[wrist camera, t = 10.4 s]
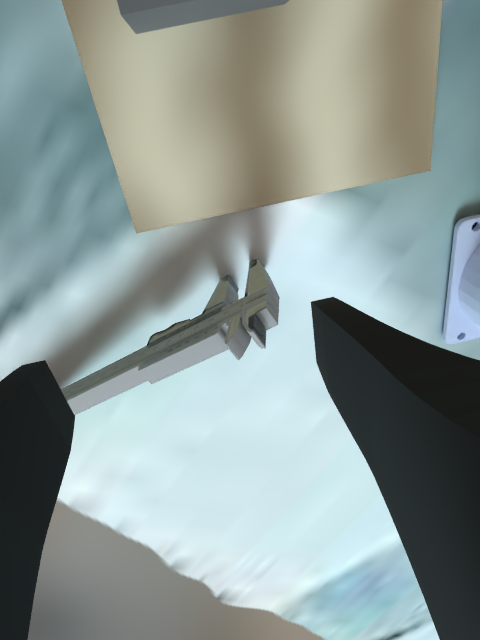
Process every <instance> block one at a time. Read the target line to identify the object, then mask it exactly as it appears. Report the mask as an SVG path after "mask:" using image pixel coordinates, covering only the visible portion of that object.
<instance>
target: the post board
mask: <svg viewBox="0 0 480 640" xmlns="http://www.w3.org/2000/svg"><path fill="white" fill-rule="evenodd" d="M442 1H443V0H289V1H288V2H287V3H285V4H284V5H279V6H274V7H269V8H264V9H259V10H254V11H249V12H244V13H239V14H234V15H229V16H224V17H219V18H214V19H209V20H204V21H199V22H194V23H189V24H184V25H179V26H174V27H170V28H165V29H160V30H155V31H150V32H145V33H140V34H135V32H134V31H133V30H132V29H131V27H130V26H129V25H128V24H127V22H126V21H125V20H124V18H123V17H122V16H121V14H120V10H119V7H118V3H117V0H62V3H63V6H64V10H65V13H66V16H67V19H68V22H69V25H70V28H71V31H72V34H73V38H74V41H75V44H76V47H77V50H78V53H79V56H80V59H81V62H82V66H83V69H84V72H85V75H86V78H87V81H88V84H89V87H90V91H91V94H92V97H93V100H94V103H95V106H96V109H97V112H98V115H99V119H100V122H101V125H102V128H103V131H104V134H105V137H106V140H107V143H108V147H109V150H110V153H111V156H112V159H113V162H114V165H115V168H116V172H117V175H118V178H119V181H120V184H121V187H122V190H123V193H124V196H125V200H126V203H127V206H128V209H129V212H130V215H131V218H132V221H133V224H134V228H135V231H136V233H140V232H145V231H150V230H154V229H159V228H164V227H168V226H173V225H178V224H183V223H187V222H192V221H197V220H201V219H206V218H211V217H215V216H220V215H225V214H229V213H234V212H239V211H244V210H248V209H253V208H258V207H262V206H267V205H272V204H276V203H281V202H286V201H290V200H295V199H300V198H305V197H309V196H314V195H319V194H323V193H328V192H333V191H337V190H342V189H347V188H351V187H356V186H361V185H366V184H370V183H375V182H380V181H384V180H389V179H394V178H398V177H403V176H408V175H412V174H417V173H422V172H427V171H430V170H431V156H432V141H433V127H434V113H435V99H436V85H437V71H438V57H439V43H440V29H441V15H442Z"/></svg>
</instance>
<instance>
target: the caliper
mask: <svg viewBox="0 0 480 640" xmlns="http://www.w3.org/2000/svg"><path fill="white" fill-rule="evenodd" d="M237 293H238V287H237V286H236V285H235V283H234V282H233V281H232V279H231V278H230V276H229V275H228V276H226V277H224V278H223V279H221V280H220V281H219V283H218V285H217V287H216V289H215V291H214V293H213V294H212V296H211V298H210V300H209V302H208V304H207V306H206V307H205V309H204V311H203V313H202V314H201V315H199V316H197V317H195V318H194V319H192V320H190V319H188V320H184V321H181V322H178V323H175V324H173V325H172V326H170V327H169V328H167V329H166V330H163V331H160V332H157V333H155V334H153V335H152V336H151V337H150V339H149V341H148V344H147V346H146V347H144V348H142V349H140V350H138V351H136V352H134V353H132V354H130V355H128V356H126V357H124V358H122V359H120V360H118V361H116V362H114V363H112V364H110V365H108V366H106V367H104V368H102V369H100V370H99V371H97V372H95V373H93V374H91V375H89V376H87V377H85V378H83V379H81V380H79V381H77V382H75V383H73V384H71V385H69V386H67V387H65V388H63V389H61V391H62V393H63V395H64V397H65V398H66V400H67V402H68V404H69V406H70V408H71V410H72V411H73V413H74V415H76V414H78V413H80V412H82V411H84V410H87V409H89V408H91V407H93V406H95V405H97V404H99V403H101V402H104V401H106V400H108V399H110V398H112V397H114V396H116V395H118V394H120V393H123V392H125V391H127V390H129V389H131V388H133V387H135V386H137V385H140V384H142V383H144V382H146V381H149V382H150V383H151V384H153V383H155V382H157V381H160V380H162V379H164V378H166V377H169V376H171V375H173V374H175V373H177V372H180V371H182V370H184V369H186V368H188V367H191V366H193V365H195V364H197V363H199V362H202V361H204V360H206V359H208V358H210V357H213V356H215V355H217V354H219V353H221V352H224V351H226V350H227V349H229V350H230V351H231V352H232V353H233V355H234V356H235V357H236V358H237V359H238V360H239V359H240V358H241V357H242V356H243V354H244V352H245V351H246V349H247V347H248V345H249V343H250V340H251V337H252V338H253V340H254V341H255V342H256V344H257V345H258V346H259V347H261V348H265V344H266V330H268V329H270V328H272V327H274V326H276V325H278V313H279V296H278V293H277V291H276V289H275V287H274V285H273V282H272V280H271V278H270V277H269V275H268V273H267V272H266V270H265V269H264V267H263V265H262V264H261V262H260V261H259V259H256V260H252V261H250V262H249V272H248V278H247V285H246V291H245V297H244V298H242V299H239V300H238V294H237Z"/></svg>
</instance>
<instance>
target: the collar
mask: <svg viewBox="0 0 480 640" xmlns="http://www.w3.org/2000/svg"><path fill="white" fill-rule="evenodd" d="M288 1H289V0H117V3H118V7H119V10H120V14H121V16H122V17H123V18H124V20H125V21H126V22H127V24H128V25H129V26H130V27H131V29H132V30H133V31H134V32H135V34H140V33H145V32H150V31H155V30H160V29H165V28H170V27H174V26H179V25H184V24H189V23H194V22H199V21H204V20H209V19H214V18H219V17H224V16H229V15H234V14H239V13H244V12H249V11H254V10H259V9H264V8H269V7H274V6H279V5H284V4H285V3H287V2H288Z"/></svg>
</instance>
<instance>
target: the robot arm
mask: <svg viewBox="0 0 480 640" xmlns="http://www.w3.org/2000/svg"><path fill="white" fill-rule="evenodd" d="M475 222H477V224H476V226H475V227H474V228H473V229H472V225H473V224H474V223H475ZM311 308H312V318H313V329H314V340H315V351H316V361H317V365H318V367H319V370H320V372H321V375H322V378H323V380H324V383H325V385H326V388H327V390H328V392H329V394H330V396H331V398H332V400H333V402H334V403H335V405H336V407H337V409H338V411H339V413H340V414H341V416H342V418H343V420H344V421H345V423H346V425H347V427H348V429H349V430H350V432H351V434H352V436H353V438H354V439H355V441H356V443H357V445H358V446H359V448H360V450H361V452H362V454H363V455H364V457H365V459H366V461H367V463H368V465H369V467H370V469H371V471H372V473H373V475H374V477H375V479H376V482H377V484H378V486H379V489H380V491H381V493H382V496H383V498H384V500H385V503H386V505H387V507H388V509H389V512H390V514H391V517H392V519H393V522H394V524H395V526H396V529H397V531H398V534H399V536H400V538H401V541H402V543H403V546H404V548H405V550H406V553H407V556H408V558H409V561H410V563H411V566H412V568H413V571H414V573H415V576H416V578H417V581H418V583H419V586H420V588H421V591H422V593H423V596H424V599H425V601H426V604H427V606H428V609H429V612H430V614H431V617H432V620H433V622H434V625H435V628H436V630H437V633H438V636H439V638H440V640H480V361H479V360H476V359H473V358H469V357H466V356H463V355H460V354H457V353H454V352H452V351H449V350H446V349H443V348H440V347H437V346H435V345H432V344H429V343H427V342H424V341H422V340H420V339H417V338H415V337H413V336H410V335H408V334H406V333H403V332H401V331H399V330H397V329H395V328H393V327H391V326H388V325H386V324H384V323H382V322H380V321H378V320H376V319H375V318H373V317H371V316H369V315H367V314H365V313H363V312H361V311H359V310H357V309H356V308H354V307H352V306H350V305H348V304H346V303H344V302H343V301H341V300H339V299H337V298H334V297H331V298H326V299H322V300H317V301H312V302H311ZM460 333H461V334H460ZM459 334H460V335H459ZM458 335H459V336H458ZM477 338H480V214H478V215H473V216H469V217H464V218H462V219H460V220H459V221H458V222H457V223H456V225H455V228H454V236H453V245H452V254H451V263H450V272H449V282H448V291H447V300H446V309H445V318H444V327H443V340H444V341H445V342H446V343H447V344H455V343H459V342H464V341H468V340H473V339H477ZM74 421H75V415H74V413H73V411H72V410H71V408H70V406H69V404H68V402H67V400H66V398H65V397H64V395H63V393H62V391H61V389H60V387H59V385H58V384H57V382H56V380H55V378H54V376H53V374H52V372H51V370H50V369H49V367H48V365H47V363H46V361H45V360H44V361H40V362H35V363H30V364H26V365H22V366H20V367H19V368H18V369H16V370H15V371H13V372H12V373H11V374H9V375H8V376H7V377H5V378H4V379H3V380H2V381H1V382H0V640H27V638H28V632H29V625H30V619H31V612H32V605H33V599H34V593H35V587H36V582H37V576H38V571H39V566H40V560H41V555H42V550H43V545H44V542H45V538H46V534H47V530H48V527H49V523H50V520H51V517H52V513H53V510H54V506H55V503H56V500H57V496H58V493H59V490H60V486H61V483H62V479H63V476H64V472H65V469H66V465H67V462H68V458H69V454H70V451H71V444H72V438H73V430H74Z"/></svg>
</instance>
